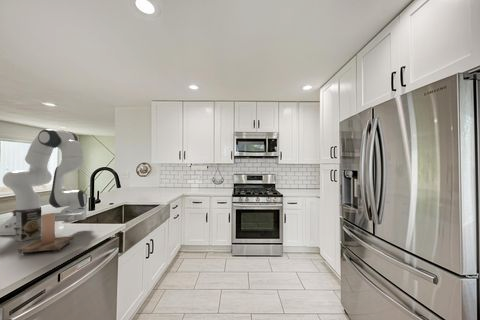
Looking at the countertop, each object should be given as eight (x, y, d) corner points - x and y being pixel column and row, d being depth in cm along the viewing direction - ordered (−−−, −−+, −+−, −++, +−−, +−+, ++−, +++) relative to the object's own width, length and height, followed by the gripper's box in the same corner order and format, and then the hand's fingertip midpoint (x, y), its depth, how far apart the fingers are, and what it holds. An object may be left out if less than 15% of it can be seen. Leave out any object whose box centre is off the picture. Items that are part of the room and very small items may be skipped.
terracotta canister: (38, 244, 105) (39, 216, 105) (45, 241, 110) (45, 213, 110) (51, 243, 107) (51, 215, 107) (56, 240, 111) (57, 213, 112)
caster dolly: (18, 257, 99) (18, 249, 99) (37, 245, 113) (37, 239, 113) (59, 253, 104) (59, 245, 104) (73, 242, 117) (73, 236, 117)
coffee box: (21, 241, 119) (22, 212, 119) (14, 240, 121) (15, 211, 121) (41, 236, 127) (41, 209, 127) (35, 235, 129) (35, 208, 130)
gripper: (49, 210, 127) (33, 215, 114) (88, 208, 133) (78, 213, 119) (49, 220, 127) (33, 227, 114) (88, 218, 133) (78, 224, 119)
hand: (57, 220), depth 117 cm, fingers open, 8 cm apart
